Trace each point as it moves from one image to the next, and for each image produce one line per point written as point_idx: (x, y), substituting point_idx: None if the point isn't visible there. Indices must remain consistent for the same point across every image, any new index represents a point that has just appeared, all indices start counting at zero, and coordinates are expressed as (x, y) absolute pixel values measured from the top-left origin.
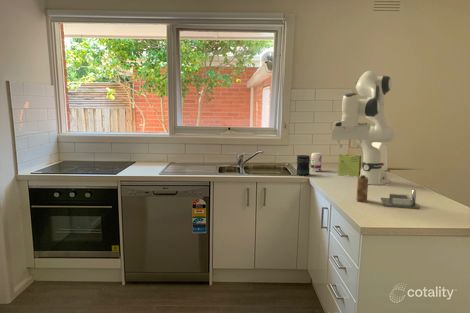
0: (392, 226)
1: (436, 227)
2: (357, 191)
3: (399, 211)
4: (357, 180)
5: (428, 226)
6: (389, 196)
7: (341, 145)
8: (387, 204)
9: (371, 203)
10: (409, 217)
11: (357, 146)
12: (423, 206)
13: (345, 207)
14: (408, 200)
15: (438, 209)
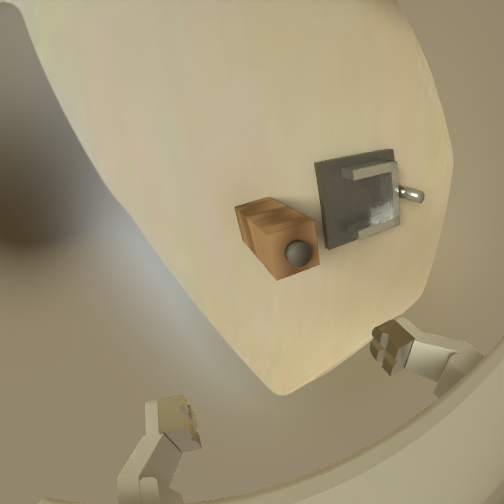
0: (327, 368)
1: None
2: (252, 246)
3: (354, 271)
4: (261, 233)
5: None
6: (347, 175)
7: (193, 440)
8: (335, 244)
9: None
10: (365, 301)
11: (381, 361)
12: None
13: (222, 325)
14: (389, 226)
15: None
